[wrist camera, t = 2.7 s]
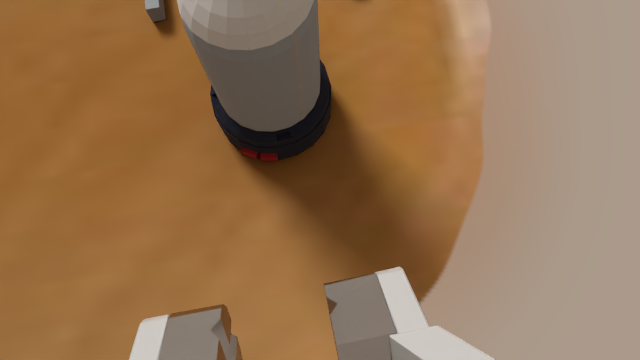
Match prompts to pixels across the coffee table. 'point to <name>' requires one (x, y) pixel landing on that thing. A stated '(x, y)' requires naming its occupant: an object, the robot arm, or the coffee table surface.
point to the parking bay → (155, 9)
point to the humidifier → (262, 72)
